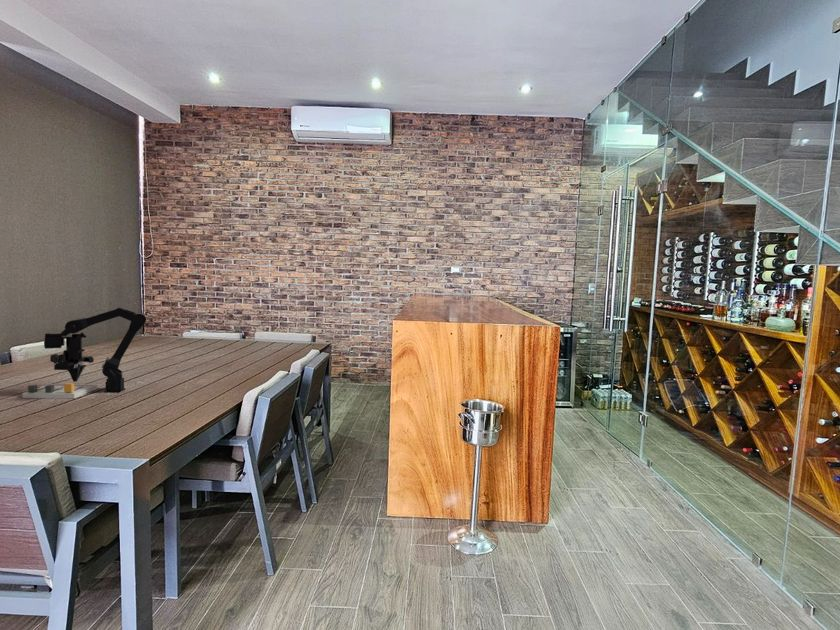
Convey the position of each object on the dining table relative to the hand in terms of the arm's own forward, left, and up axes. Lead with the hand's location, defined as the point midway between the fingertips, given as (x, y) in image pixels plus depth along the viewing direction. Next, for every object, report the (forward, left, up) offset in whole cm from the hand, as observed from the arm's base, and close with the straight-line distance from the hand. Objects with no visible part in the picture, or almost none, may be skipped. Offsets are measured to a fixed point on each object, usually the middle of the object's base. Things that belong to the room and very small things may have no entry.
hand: (75, 381), depth 207 cm
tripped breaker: (0, +4, -4) cm, 6 cm away
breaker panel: (+7, -2, -6) cm, 9 cm away
